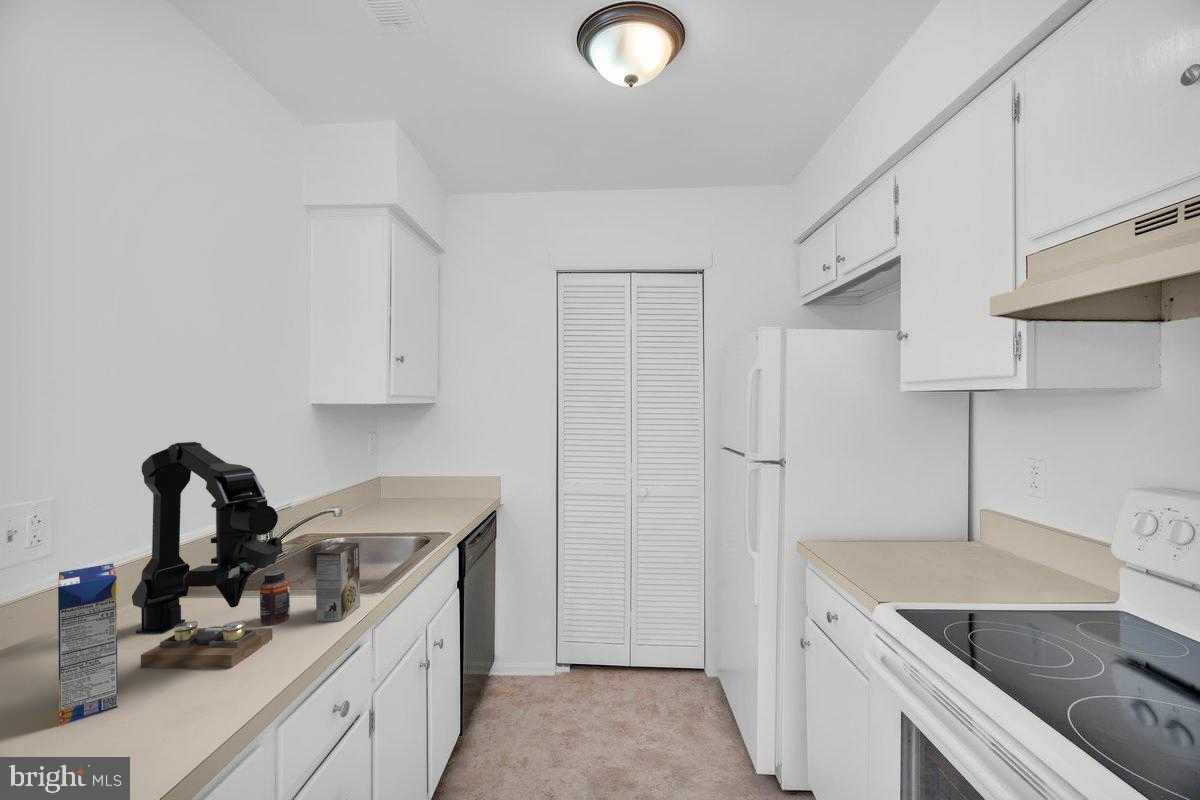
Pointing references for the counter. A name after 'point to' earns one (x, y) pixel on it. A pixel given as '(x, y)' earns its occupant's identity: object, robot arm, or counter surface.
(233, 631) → the knob right
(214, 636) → the dial
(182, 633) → the knob left
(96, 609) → the beverage box
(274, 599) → the supplement bottle
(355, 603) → the coffee box
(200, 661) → the mount
